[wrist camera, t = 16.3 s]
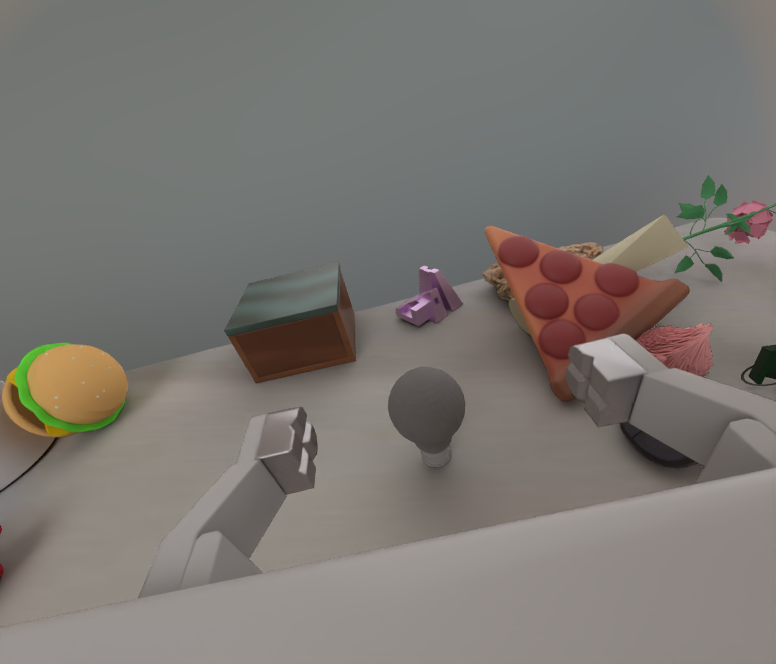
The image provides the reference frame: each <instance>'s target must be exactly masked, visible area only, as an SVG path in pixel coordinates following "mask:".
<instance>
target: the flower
mask: <svg viewBox="0 0 776 664" xmlns="http://www.w3.org/2000/svg"><path fill="white" fill-rule="evenodd" d="M710 325H711V323H708V324H706V325H704V326H703V324H699V325H697V326H696V327H694V328H691V327H688V328H686V329H681V328H677V327H673V328H672V327H671V326H668V327H664V326H662V327H657V328H653V329H650V330H648V331H646V332H645V333H643V334H642V335H641V336H640V338H639V339H637V340H636V341H637V343H639V344H640V345H641V346H642V347H643V348H645V349H646V350H647V351H648V352H649V353H651V354H652V355H653V356H654V357H655V358H657V359H658V360H659V361H660V362H661V363H663V364H664V365H665V366H666V367H667V368H669V369H672V368H677V369H680V370H683V371H686V372H689V373H692V374H695V375H698V376H701V377H702V376H704V375H706V374H708V373H709V372H708V369H709V368H710V367H711V366H713V365H714V364H713V363H712V361H711V360H712V356H713V355H712V354H711V352H712V351H711V347H710V345H709V340H708V339H709V336H710V333H711V331H712V328H713V327H714V326H711V327H710Z"/></svg>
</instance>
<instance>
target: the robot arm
mask: <svg viewBox="0 0 776 664" xmlns="http://www.w3.org/2000/svg"><path fill="white" fill-rule="evenodd" d="M568 357H569V359H570V360H571V361H572V362H571V363H570V364H569V365H568V366H567V368H566V380H567V384H568V386H569V388H570V390H571V392H572V393H573V395H574V396H575V398H577V399H579V400H581V401H583V402H585V411H586V412H587V413H588V415H589V416H590V417H591V419H592V420H593V421H594V422H595V424H596V425H597V426H598V427H602V426H607V425H612V424H618V423H623V422H628V421H629V423H630V424H632V425H633V426H635V427H637V428H638V429H640V430H642V431H644V432H645V433H647V434H649V435H651V436H652V437H654V438H656V439H658V440H659V441H661V442H663V443H665V444H666V445H668V446H670V447H671V448H673V449H675V450H677V451H678V452H680V453H682V454H684V455H685V456H687V457H689V458H691V459H692V460H694V461H696V462H698V463H699V464H701V465H703V466H704V469H703V471H702V472H701V474H700V476H699V478H698V479H697V483H696V484H694V485H689V486H684V487H679V488H674V489H669V490H664V491H660V492H655V493H650V494H645V495H640V496H635V497H630V498H626V499H621V500H616V501H611V502H606V503H601V504H596V505H591V506H587V507H582V508H577V509H572V510H567V511H562V512H557V513H552V514H548V515H543V516H538V517H533V518H528V519H523V520H518V521H513V522H509V523H504V524H499V525H494V526H489V527H484V528H480V529H475V530H470V531H465V532H460V533H455V534H450V535H446V536H441V537H436V538H431V539H426V540H421V541H417V542H412V543H407V544H402V545H397V546H392V547H387V548H383V549H378V550H373V551H368V552H363V553H358V554H353V555H349V556H344V557H339V558H334V559H329V560H324V561H319V562H315V563H310V564H305V565H300V566H295V567H290V568H285V569H281V570H276V571H271V572H266V573H262V571H261V570H260V569H259V568H258V567H257V566H256V565H255V564H254V563H253V562H252V561H251V560H249V558H250V557H251V555H252V553H253V552H254V550H255V548H256V547H257V545H258V543H259V542H260V540H261V538H262V537H263V535H264V533H265V532H266V530H267V528H268V527H269V525H270V523H271V522H272V520H273V518H274V517H275V515H276V513H277V512H278V510H279V508H280V507H281V505H282V503H283V502H284V500H285V498H286V497H287V496H286V495H287V494H291V493H295V492H300V491H304V490H308V489H312V488H314V483H315V472H316V467H315V465H314V463H313V461H312V460H313V459H314V458H315V456H316V455H317V447H318V445H317V436H316V433H315V430H314V428H313V426H312V424H310V423H308V422H307V421H306V418H307V414H306V412H305V411H304V409H303V407H297V408H292V409H287V410H282V411H277V412H272V413H268V414H264V415H258V416H253V417H252V418H251V419H250V421H249V423H248V427H247V430H246V433H245V436H244V440H243V443H242V446H241V449H240V453H239V456H238V459H237V463H236V464H233V465H231V466H230V467H229V468H228V469H227V470H226V471H225V472H224V473H223V475H222V476H221V477H220V478H219V479H218V480H217V481H216V482H215V483H214V484H213V485H212V487H211V488H210V489H209V490H208V491H207V492H206V493H205V494H204V495H203V496H202V498H201V499H200V500H199V501H198V502H197V503H196V504H195V505H194V506H193V507H192V508H191V510H190V511H189V512H188V513H187V514H186V515H185V516H184V517H183V518H182V519H181V520H180V522H179V523H178V524H177V525H176V526H175V527H174V528H173V529H172V530H171V531H170V533H169V534H168V535H167V536H166V537H165V538H164V539H163V540H162V542H161V544H160V547H159V549H158V552H157V554H156V556H155V559H154V561H153V563H152V566H151V568H150V571H149V573H148V575H147V578H146V580H145V582H144V585H143V587H142V590H141V592H140V594H139V597H138V599H135V600H130V601H125V602H120V603H115V604H110V605H105V606H100V607H95V608H91V609H86V610H81V611H76V612H71V613H66V614H61V615H56V616H51V617H47V618H42V619H37V620H32V621H27V622H22V623H17V624H12V625H7V626H2V627H0V664H776V401H773V400H770V399H767V398H764V397H761V396H758V395H755V394H752V393H749V392H746V391H743V390H740V389H737V388H734V387H731V386H728V385H725V384H722V383H719V382H716V381H713V380H710V379H707V378H704V377H701V376H698V375H695V374H692V373H689V372H686V371H683V370H680V369H677V368H672V369H669V368H667V367H666V366H665V365H664V364H663V363H661V362H660V361H659V360H658V359H657V358H655V357H654V356H653V355H652V354H651V353H649V352H648V351H647V350H646V349H645V348H643V347H642V346H641V345H640V344H639V343H637V342H636V341H635V340H634V339H633V338H632V337H630V336H629V335H626V334H620V335H616V336H612V337H607V338H605V339H599V340H595V341H591V342H586V343H582V344H578V345H573V346H571V347H570V349H569V352H568ZM4 385H5V383H4V382H3V381H1V380H0V490H2V489H3V488H5V487H6V486H7V485H9V484H10V483H11V482H13V481H14V480H15V479H16V478H18V477H19V476H20V475H21V474H23V473H24V472H25V471H26V470H27V469H28V468H29V467H31V466H32V465H33V464H34V463H35V462H36V461H37V460H38V459H39V458H40V457H41V456H42V455H43V453H44V452H45V451H46V450H47V449H48V448H49V446H50V445H51V444H52V442H53V441H54V439H55V437H46V436H41V435H37V434H34V433H31V432H28V431H27V430H25V429H23V428H21V427H20V426H18V425H17V424H16V423H15V422H14V421H13V420H12V419H11V418H10V417H9V416H8V414H7V413H6V411H5V408H4V406H3V401H2V392H3V387H4Z"/></svg>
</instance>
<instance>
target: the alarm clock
mask: <svg viewBox="0 0 776 664" xmlns="http://www.w3.org/2000/svg"><path fill="white" fill-rule="evenodd" d="M1 530H2V528H1V526H0V533H1ZM2 574H3V567H2V565H1V564H0V577H1V576H2Z"/></svg>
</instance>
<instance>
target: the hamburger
mask: <svg viewBox="0 0 776 664" xmlns="http://www.w3.org/2000/svg"><path fill="white" fill-rule="evenodd" d="M127 391H128V381H127V377H126V374H125V372H124V370H123V369H122V367H121V365H120V364H119V363H118V362H117V361H116V360H115V359H114V358H113V357H112V356H110V355H109V354H108V353H106V352H104V351H102V350H100V349H98V348H95V347H91V346H87V345H72V344H70V343H56V344H50V345H43V346H40V347H37V348H35V349H34V350H32V351H30V352H29V353H28V354H26V355H25V356H24V357H23V359H22V361H21V363H20V365H19V366H18V367H17V368H15V369H14V370H13V371H11V372H10V374H9V375H8V376H7V377H6V382H5V385H4V387H3V392H2V401H3V406H4V408H5V411H6V413H7V414H8V416H9V417H10V418H11V419H12V420H13V421H14V422H15V423H16V424H17V425H18V426H20V427H21V428H23V429H25V430H27V431H28V432H31V433H34V434H37V435H41V436H46V437H64V436H69V435H73V434H76V433H78V432H86V431H92V430H98V429H101V428H103V427H105V426H107V425H108V424H110V423H111V422H113V421H114V420H115V419H116V418H117V416H118V414H119V413H120V411H121V410H122V408H123V406H124V404H125V398H126V395H127Z"/></svg>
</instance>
